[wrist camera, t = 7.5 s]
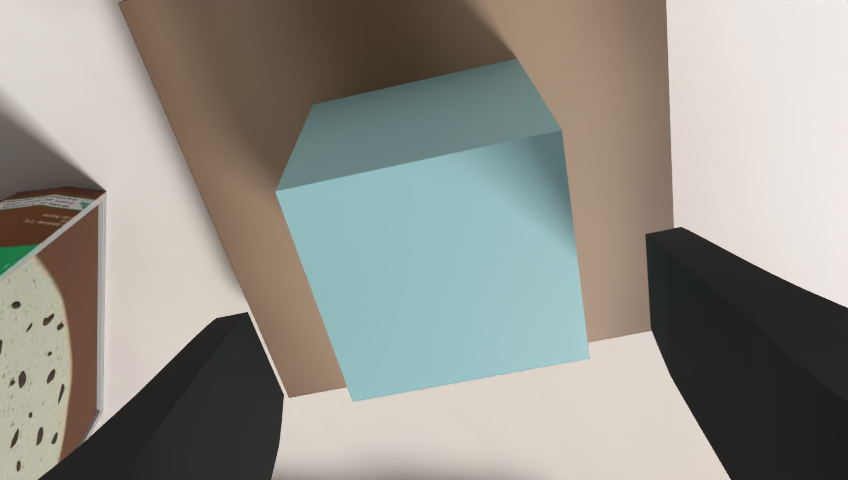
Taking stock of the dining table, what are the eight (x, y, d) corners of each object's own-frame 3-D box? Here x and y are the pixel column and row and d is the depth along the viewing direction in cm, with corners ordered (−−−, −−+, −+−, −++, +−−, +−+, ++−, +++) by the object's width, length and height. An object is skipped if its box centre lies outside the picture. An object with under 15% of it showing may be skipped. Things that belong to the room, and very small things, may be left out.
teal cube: (517, 58, 15) (562, 130, 11) (544, 239, 17) (589, 358, 13) (313, 104, 15) (275, 191, 11) (366, 275, 18) (352, 402, 13)
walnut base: (619, -129, 16) (661, -132, 13) (644, 272, 22) (676, 325, 19) (163, -16, 17) (118, 2, 14) (302, 338, 23) (289, 398, 20)
